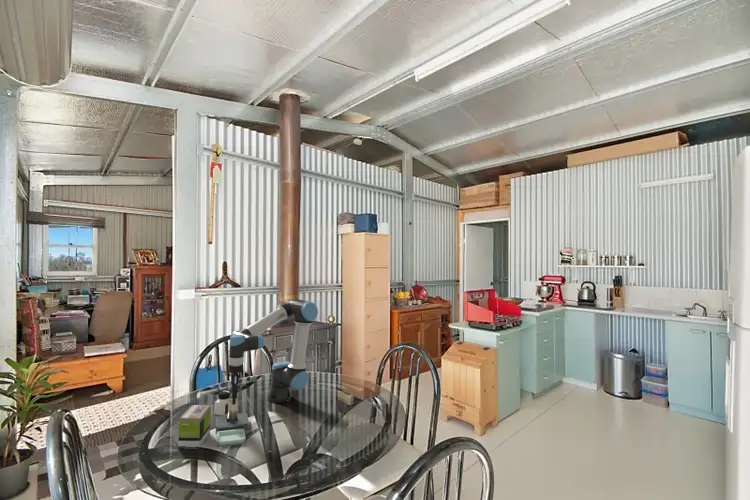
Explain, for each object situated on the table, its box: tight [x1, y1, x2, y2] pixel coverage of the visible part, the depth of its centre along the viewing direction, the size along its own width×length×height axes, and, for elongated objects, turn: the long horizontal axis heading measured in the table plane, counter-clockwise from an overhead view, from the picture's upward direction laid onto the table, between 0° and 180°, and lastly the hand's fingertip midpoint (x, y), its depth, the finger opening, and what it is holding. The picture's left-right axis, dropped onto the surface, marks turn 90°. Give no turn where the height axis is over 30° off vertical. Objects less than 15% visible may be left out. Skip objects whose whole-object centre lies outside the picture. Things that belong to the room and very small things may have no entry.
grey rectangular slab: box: [215, 412, 250, 435], centre depth 201 cm, size 16×13×4 cm
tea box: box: [177, 404, 212, 448], centre depth 185 cm, size 15×10×15 cm, turn 5°
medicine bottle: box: [213, 390, 231, 416], centre depth 217 cm, size 7×7×12 cm
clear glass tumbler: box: [227, 396, 240, 419], centre depth 201 cm, size 5×5×10 cm
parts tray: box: [216, 428, 246, 448], centre depth 188 cm, size 13×11×2 cm
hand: (233, 407), depth 201 cm, fingers closed on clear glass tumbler, 5 cm apart
